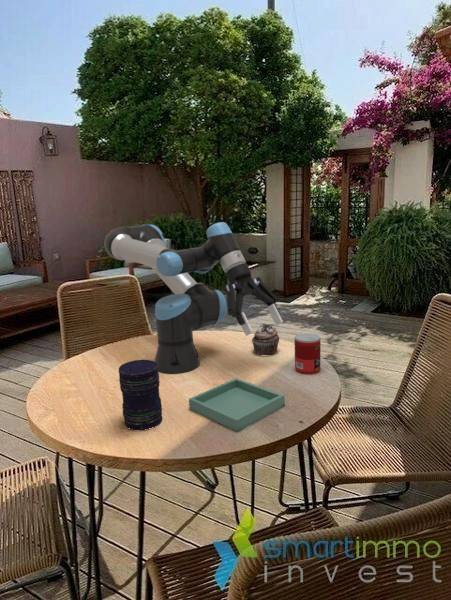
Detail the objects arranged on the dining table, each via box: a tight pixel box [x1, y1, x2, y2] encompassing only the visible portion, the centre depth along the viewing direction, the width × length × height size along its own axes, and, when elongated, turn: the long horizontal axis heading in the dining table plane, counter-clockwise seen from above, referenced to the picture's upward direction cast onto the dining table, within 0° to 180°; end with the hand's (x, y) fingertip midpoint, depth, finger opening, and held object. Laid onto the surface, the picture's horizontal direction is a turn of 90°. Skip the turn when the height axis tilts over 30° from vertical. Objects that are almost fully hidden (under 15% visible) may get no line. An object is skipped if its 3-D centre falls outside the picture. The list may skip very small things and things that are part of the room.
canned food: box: [294, 332, 322, 375], centre depth 144 cm, size 8×8×11 cm
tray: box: [188, 377, 285, 433], centre depth 123 cm, size 18×18×3 cm
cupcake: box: [251, 323, 280, 356], centre depth 162 cm, size 10×10×10 cm
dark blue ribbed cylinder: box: [118, 359, 163, 431], centre depth 116 cm, size 10×10×15 cm
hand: (265, 328), depth 140 cm, fingers open, 13 cm apart
